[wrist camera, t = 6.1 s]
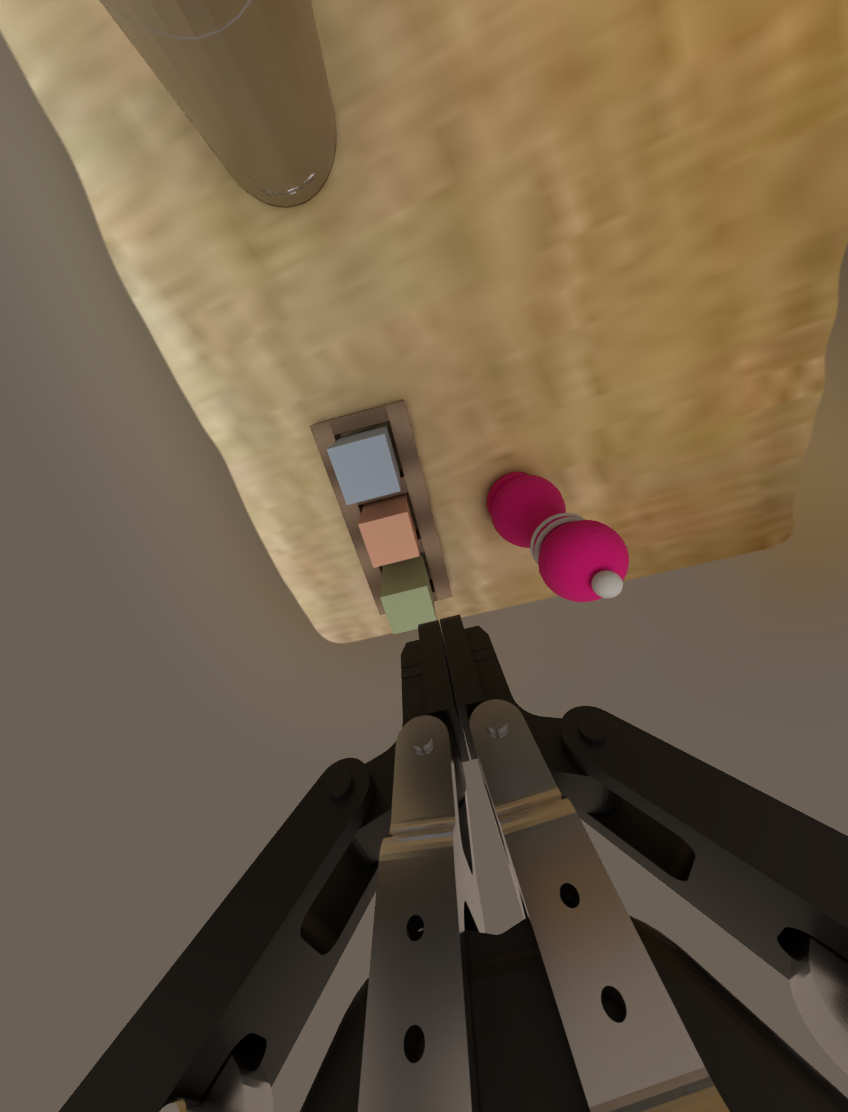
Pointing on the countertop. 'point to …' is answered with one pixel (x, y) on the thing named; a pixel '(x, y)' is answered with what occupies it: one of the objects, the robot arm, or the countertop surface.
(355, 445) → the slate block
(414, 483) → the walnut board
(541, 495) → the pepper mill
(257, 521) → the countertop surface
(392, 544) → the terracotta block
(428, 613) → the olive block
